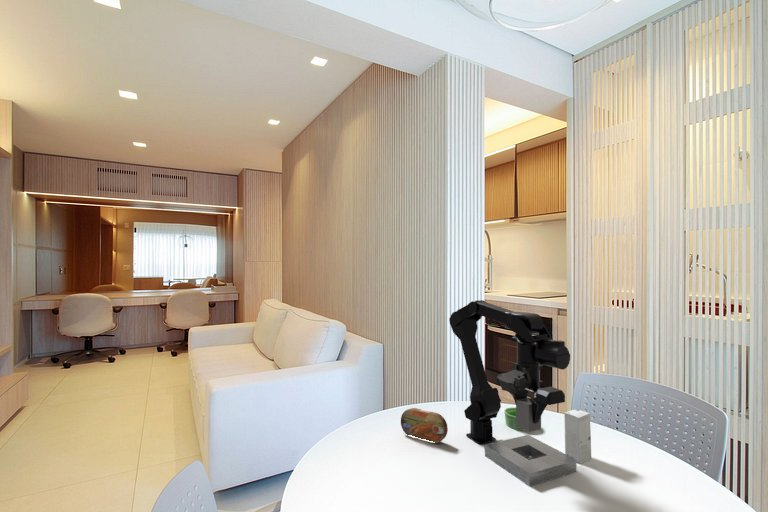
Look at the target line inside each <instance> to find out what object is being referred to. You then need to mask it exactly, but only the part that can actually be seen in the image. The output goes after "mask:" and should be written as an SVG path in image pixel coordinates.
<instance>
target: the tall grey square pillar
mask: <svg viewBox="0 0 768 512" xmlns="http://www.w3.org/2000/svg"><path fill="white" fill-rule="evenodd" d="M529 398H530V397H528V396H527V398H522V399H516V403H515V408H516V426H517V427H519V428H521V429H523V430H522V431H526V432H528V433H532V432H536V431H540V430H542V416H541V417H540V419H539V421H538V423H536V424H535V423H533V413H532V403H531V402H530V400H529Z"/></svg>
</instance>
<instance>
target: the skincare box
mask: <svg viewBox="0 0 768 512" xmlns="http://www.w3.org/2000/svg"><path fill="white" fill-rule="evenodd" d="M563 414H564V454H566V455H568V456H570V457H572V458H573V459H575V460H576V464H581V463H585V462H587V461H589V460H591V459H592V437H591V436H592V434H591V413H590V412H587V411H584V410H579V409H577V408H576V409H572V410H568V411H566V412H564V413H563Z"/></svg>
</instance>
